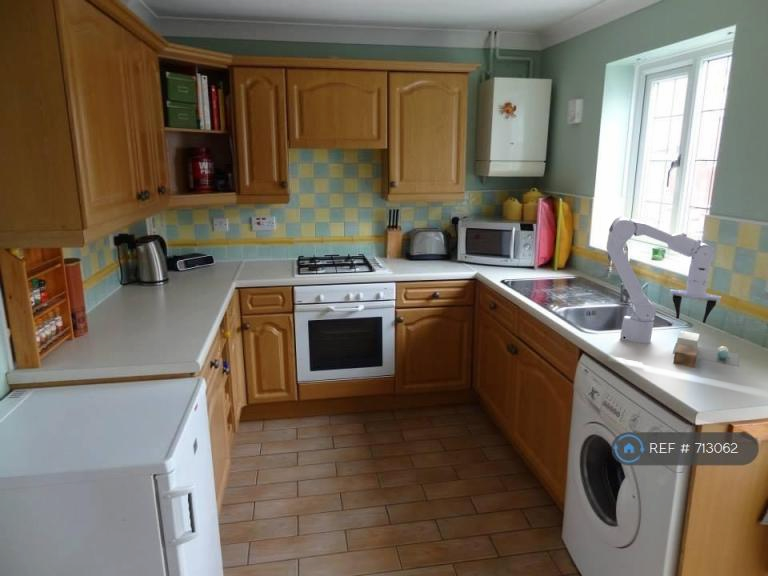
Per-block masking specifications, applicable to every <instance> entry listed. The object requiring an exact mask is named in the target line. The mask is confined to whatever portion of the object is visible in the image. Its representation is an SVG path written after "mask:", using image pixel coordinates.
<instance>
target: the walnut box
mask: <svg viewBox="0 0 768 576" xmlns="http://www.w3.org/2000/svg"><path fill="white" fill-rule="evenodd" d="M698 347H699V346H697V347H693V346H687V345H682V344H678V345H677V348H676V351H675V354H674V356H673V363H672V364H673V365H679V366H684V367H687V368H688V367H689V368H695V367H696V366H695V365H696V361H697V359H698V358H697V352H698Z"/></svg>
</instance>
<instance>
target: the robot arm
mask: <svg viewBox="0 0 768 576" xmlns="http://www.w3.org/2000/svg"><path fill="white" fill-rule="evenodd" d="M607 236H608V237H607V242H606V251H607V253H608V255H609V257H610V259H611V260H612V261H611V262H612V264H613V265H614V268H615V269H616V271H617V273H618V275H619V277H620V280H621V281H622V283H623V285H624V287H625V290H626V291H627V294H628V295H629V298H630V300H631V308H632V310H633V312H632V313H631V314H630V315H624V316H623V319H622V323H621V330H620V336H619V337H620V339H621V340H626V341H630V342H634V343H639V344H650V343H651V340H652V334H653V328H654V323H655V317H656V314H657V309H656V307H655V305H654V304H653V303H652V300H651V299H650V298H649V297H648V296H647V295H646V294H645V292H644V290H643V287H642V286H641V284H640V282H639V280H638V277H637V276H636V274H635V272H634V270H633V267H632V265H631V264H630V262H629V259H628V258H627V256H626V253H625V251H624V248H625V246H626V244H627V242H628V241H629V240H630V239H631V238H632V237H633V236H635V237H640V236H646V237H649V238H651V239H654V240H656V241H659V242H662V243H665V244H667V247H668V249H669V250H670V251H674V252H675V253H678V254H680V255H683V256H686V257H688V258H689V257H691V260H690V265H689V270H688V276H687V279H686V287H685V290H683V289H682V290H681V289H670V291H669V297H672V303H673V305H674V308H675V315H676V317H675V319H677V320H678V319H680V315H681V305H682V298H684V299H691V300H692V299H693V300H697V301H699V300H700V301H706V305H705V312H704V315H703V319H702V324H705V323H706V321H707V318H708V317H709V316H710V313H711V312H712V311H713V309H714V308H715V306H716V304H721V300H722V296H721V295H715V294H711V293H706V292H707V287H708V282H709V276H710V270H711V264H712V263H711V262H712V261H713V260H714V259H715V258H716V254H715V250H714V248H713V247H712V246H710V245H709V244H707V243H705V242H704V241H702V240H700V239H694V238H693V237H689V236H688V233H687V234H686V233H685V232H681V233H679V232H677V233H674V234H671V233H668V232H666V231H663V229H662V230H661V229H660V228H657V227H655V226H652V225H650V224H648V223H646V222H643V221H639V220H636V219H633V218H631V220H630V219H629V218H628V217H626V216H620V217H619V216H618V217H617V218H615V219H614V220H613V222H612V223H611V224H610V226H609V228H608V235H607ZM624 337H625V338H624Z"/></svg>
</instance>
